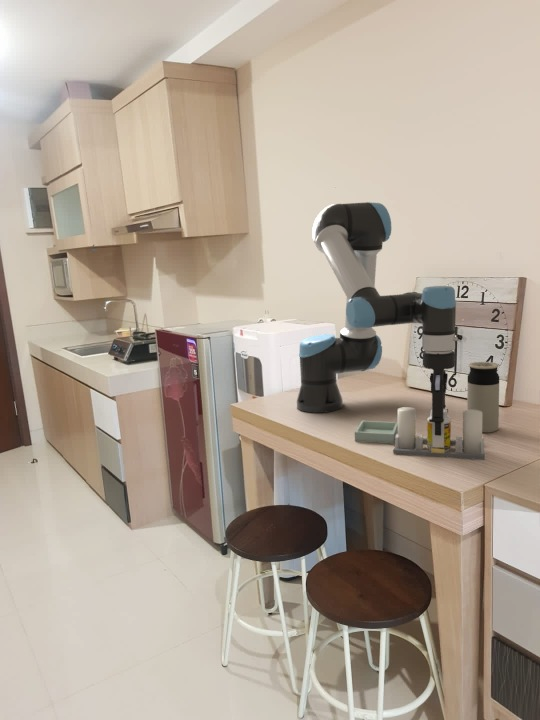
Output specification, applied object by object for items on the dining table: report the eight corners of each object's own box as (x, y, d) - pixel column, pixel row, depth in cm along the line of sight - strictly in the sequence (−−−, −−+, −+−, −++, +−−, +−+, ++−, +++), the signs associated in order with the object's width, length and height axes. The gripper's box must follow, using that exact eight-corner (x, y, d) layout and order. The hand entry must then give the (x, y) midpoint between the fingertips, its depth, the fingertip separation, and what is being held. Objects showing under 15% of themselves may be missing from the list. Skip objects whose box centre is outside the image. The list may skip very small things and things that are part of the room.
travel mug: (479, 435, 144) (480, 368, 141) (461, 426, 152) (461, 363, 149) (504, 430, 147) (506, 365, 143) (485, 422, 154) (486, 360, 151)
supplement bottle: (440, 455, 132) (440, 414, 130) (422, 449, 137) (422, 410, 135) (455, 449, 135) (455, 410, 133) (437, 443, 140) (437, 405, 138)
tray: (354, 441, 146) (354, 432, 145) (362, 429, 155) (361, 420, 154) (393, 443, 142) (393, 434, 142) (398, 431, 151) (398, 422, 151)
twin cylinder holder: (393, 453, 135) (392, 415, 133) (398, 440, 144) (397, 403, 142) (484, 460, 127) (485, 419, 126) (483, 445, 137) (484, 406, 135)
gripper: (454, 358, 121) (453, 457, 126) (456, 344, 138) (455, 431, 143) (419, 358, 124) (420, 454, 128) (425, 344, 141) (426, 430, 145)
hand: (438, 442), depth 135 cm, fingers closed on supplement bottle, 6 cm apart
